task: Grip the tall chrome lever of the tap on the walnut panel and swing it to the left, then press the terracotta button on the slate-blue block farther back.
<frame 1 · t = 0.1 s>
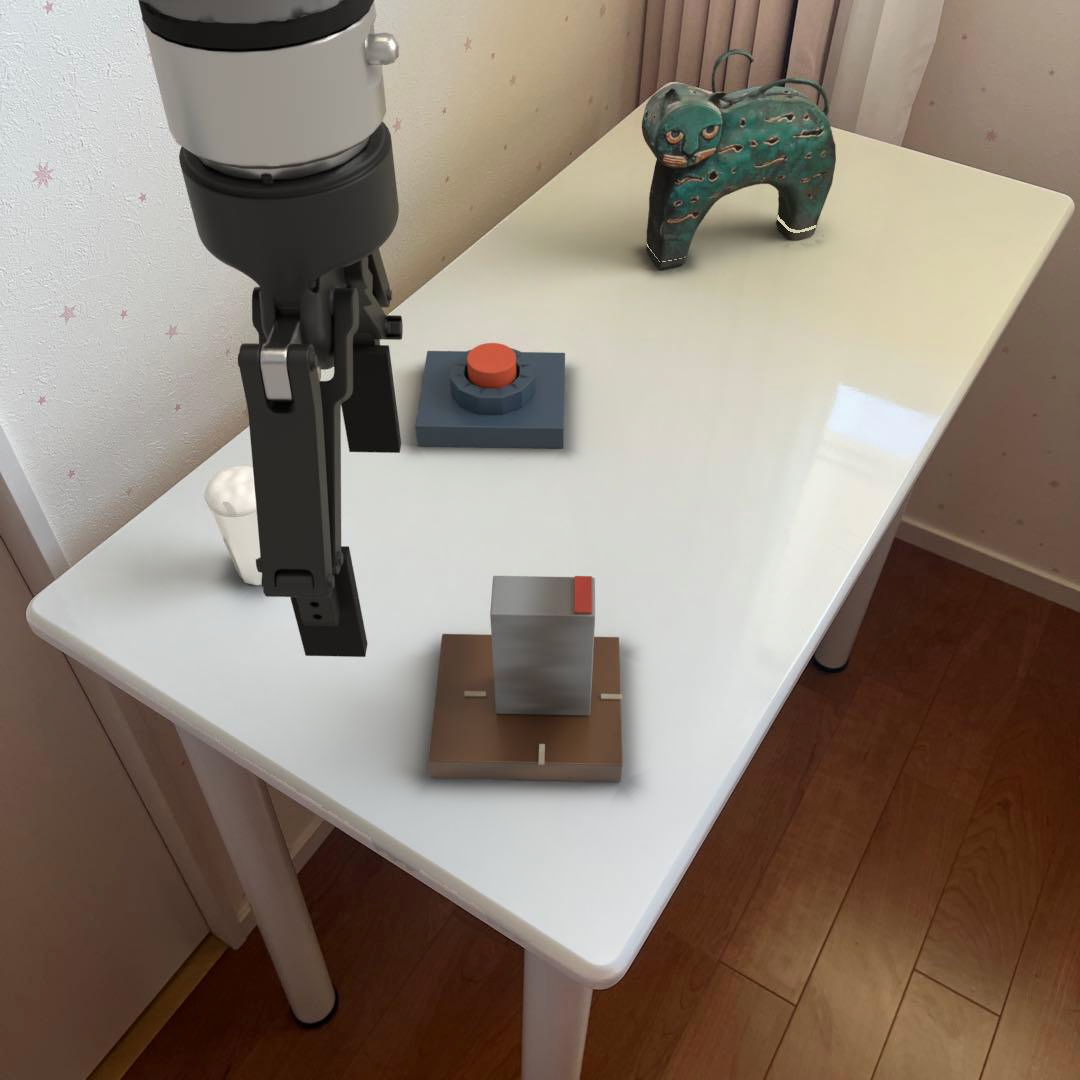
hand: (357, 540, 55), 21 cm above the table, tool pointing down, fingers open, 13 cm apart
ceramic cat: (725, 246, 111), on the table
button block: (493, 408, 94), on the table
button: (491, 366, 91), point 4 cm above the table, slide at 0.1 cm
milkshake: (260, 575, 81), on the table
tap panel: (528, 713, 73), on the table
tap lever: (543, 647, 67), point 7 cm above the table, hinge at 0.0°
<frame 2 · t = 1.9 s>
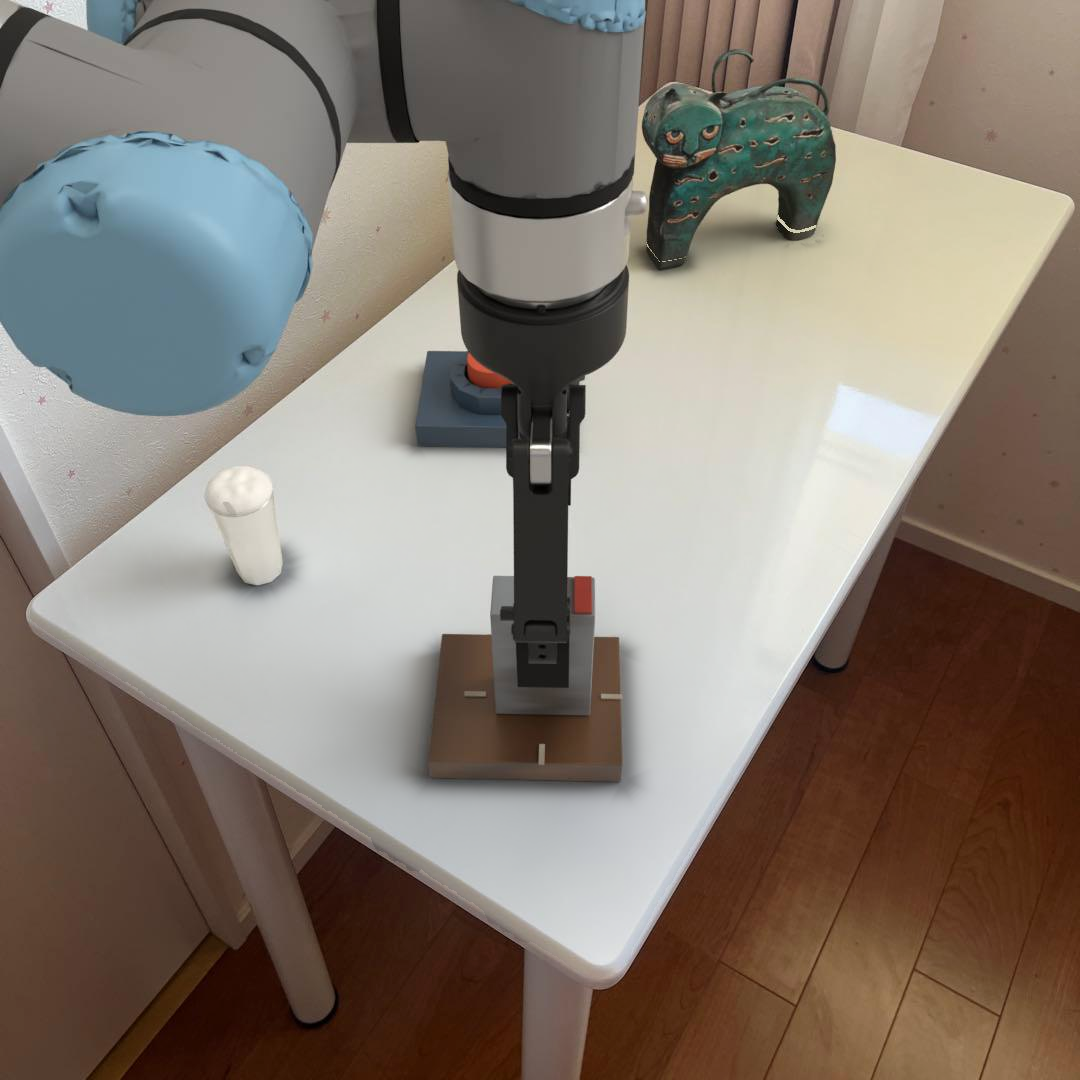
hand: (546, 585, 63), 13 cm above the table, tool pointing down, fingers open, 13 cm apart
nothing on the table moved.
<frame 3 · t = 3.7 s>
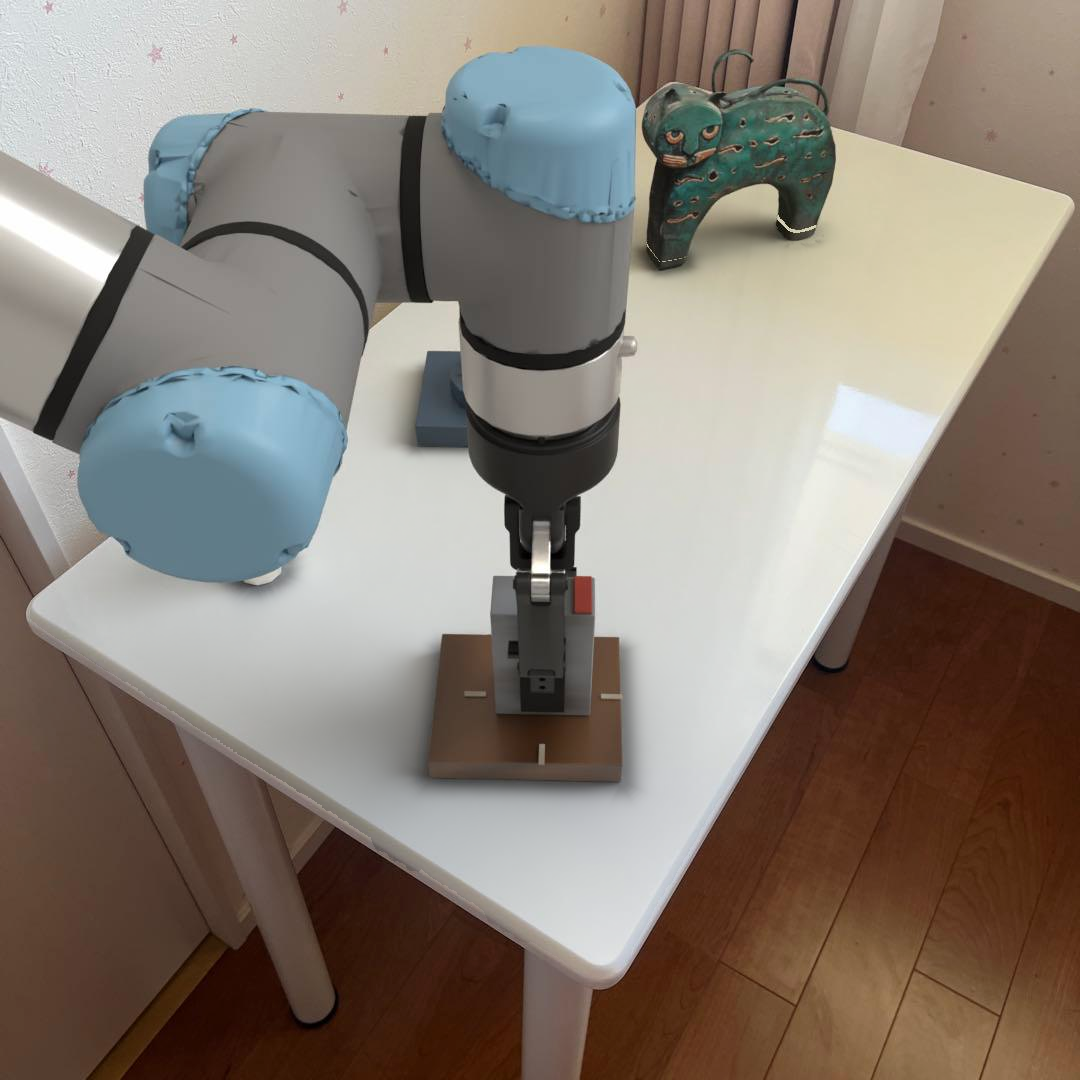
hand: (543, 682, 70), 4 cm above the table, tool pointing down, fingers closed on tap lever, 3 cm apart
tap lever: (543, 647, 67), point 7 cm above the table, hinge at -0.1°, touching gripper
everything else where it was.
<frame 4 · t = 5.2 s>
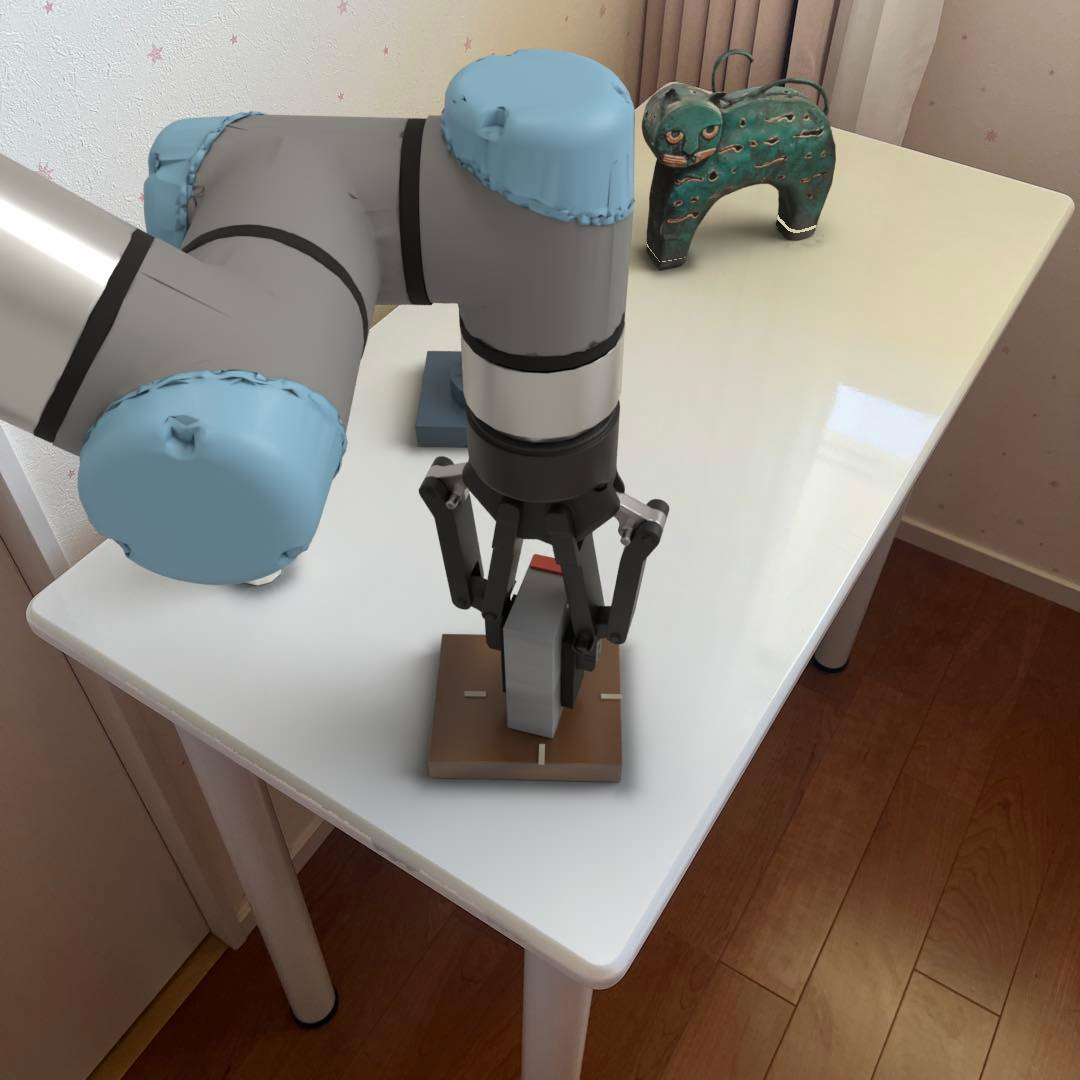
hand: (543, 683, 70), 3 cm above the table, tool pointing down, fingers open, 3 cm apart
tap lever: (543, 647, 67), point 7 cm above the table, hinge at 74.9°
everything else where it was.
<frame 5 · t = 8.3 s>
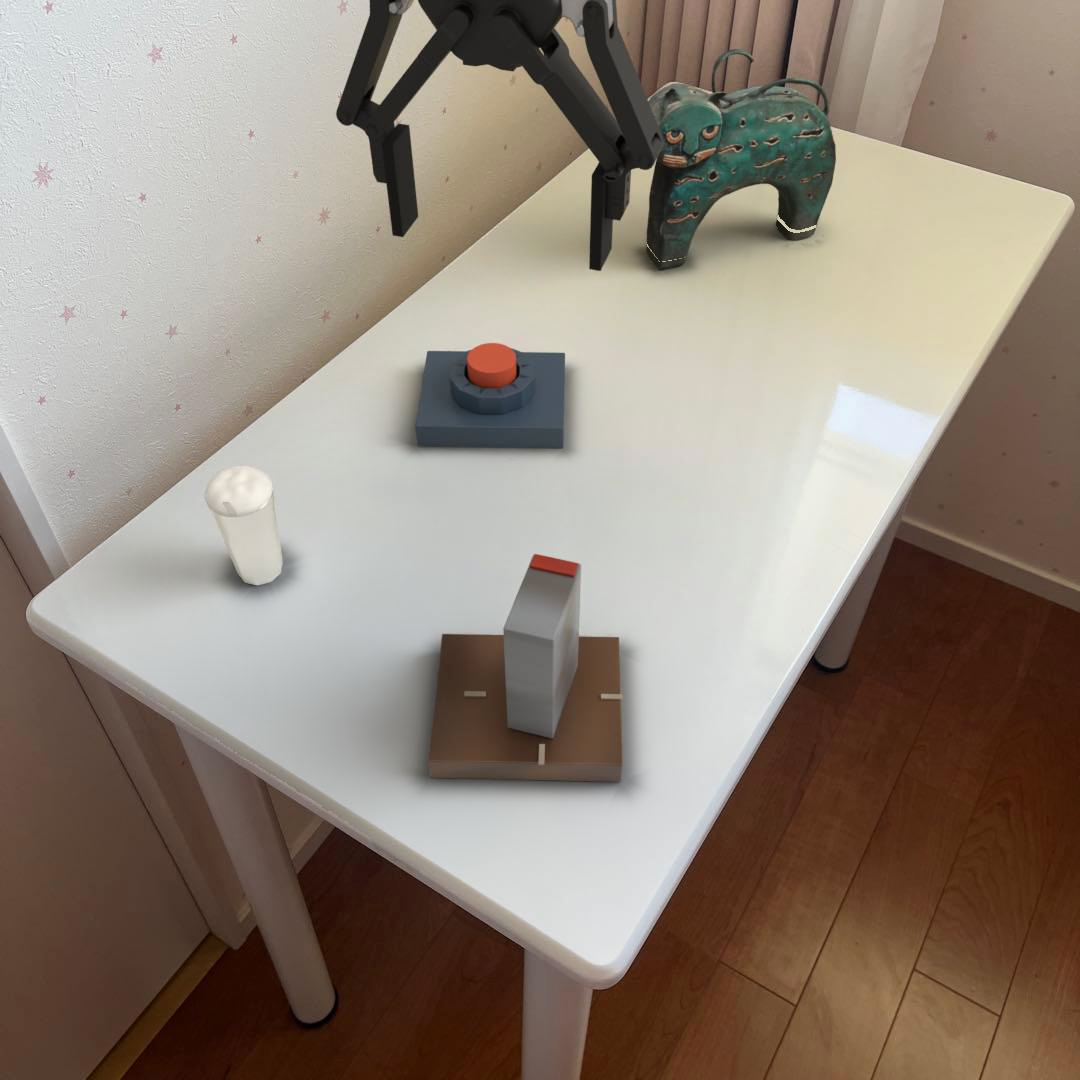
hand: (501, 242, 73), 21 cm above the table, tool pointing down, fingers open, 13 cm apart
nothing on the table moved.
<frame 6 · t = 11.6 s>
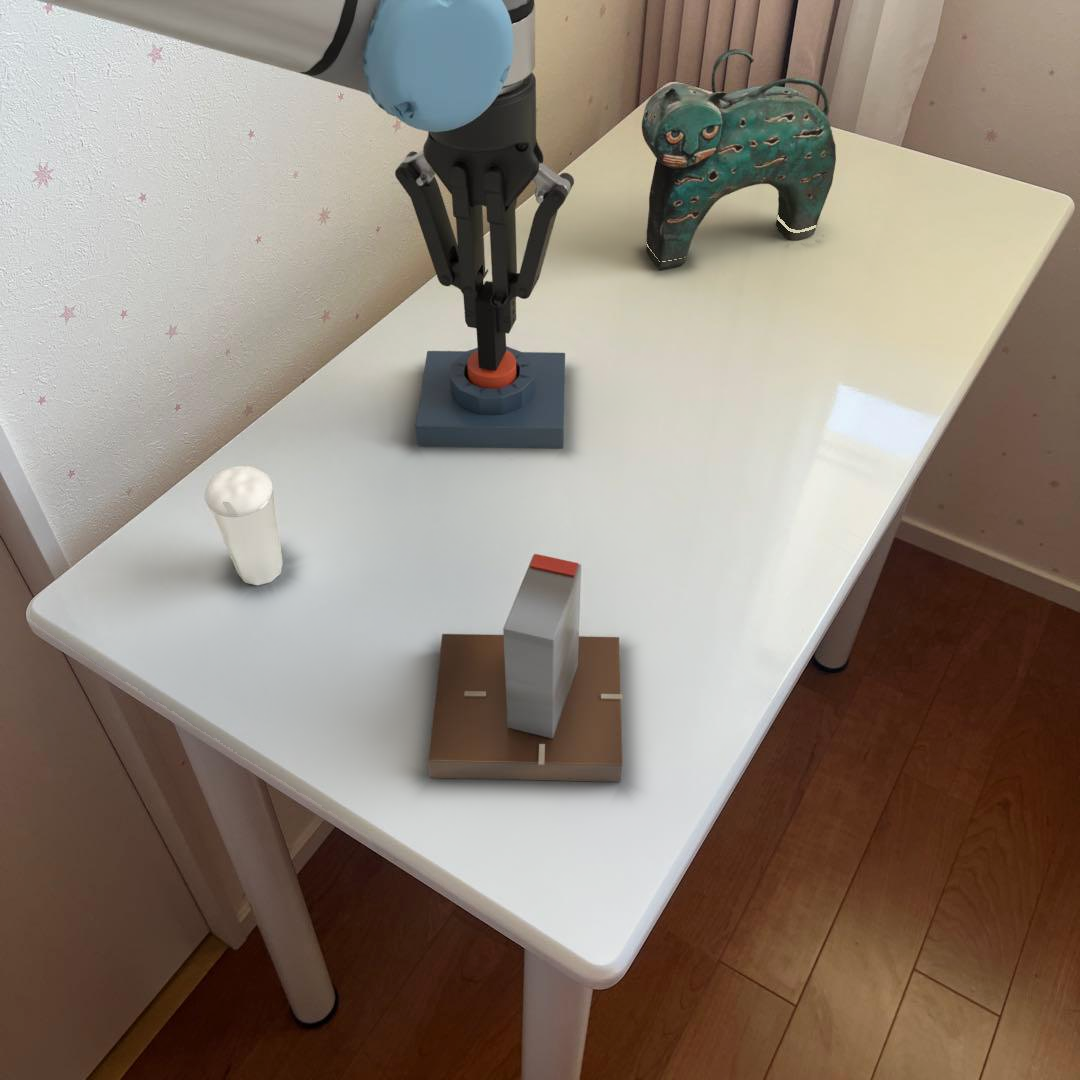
hand: (492, 358, 90), 5 cm above the table, tool pointing down, fingers closed
button: (492, 370, 91), point 4 cm above the table, slide at -0.3 cm, touching gripper
everything else where it was.
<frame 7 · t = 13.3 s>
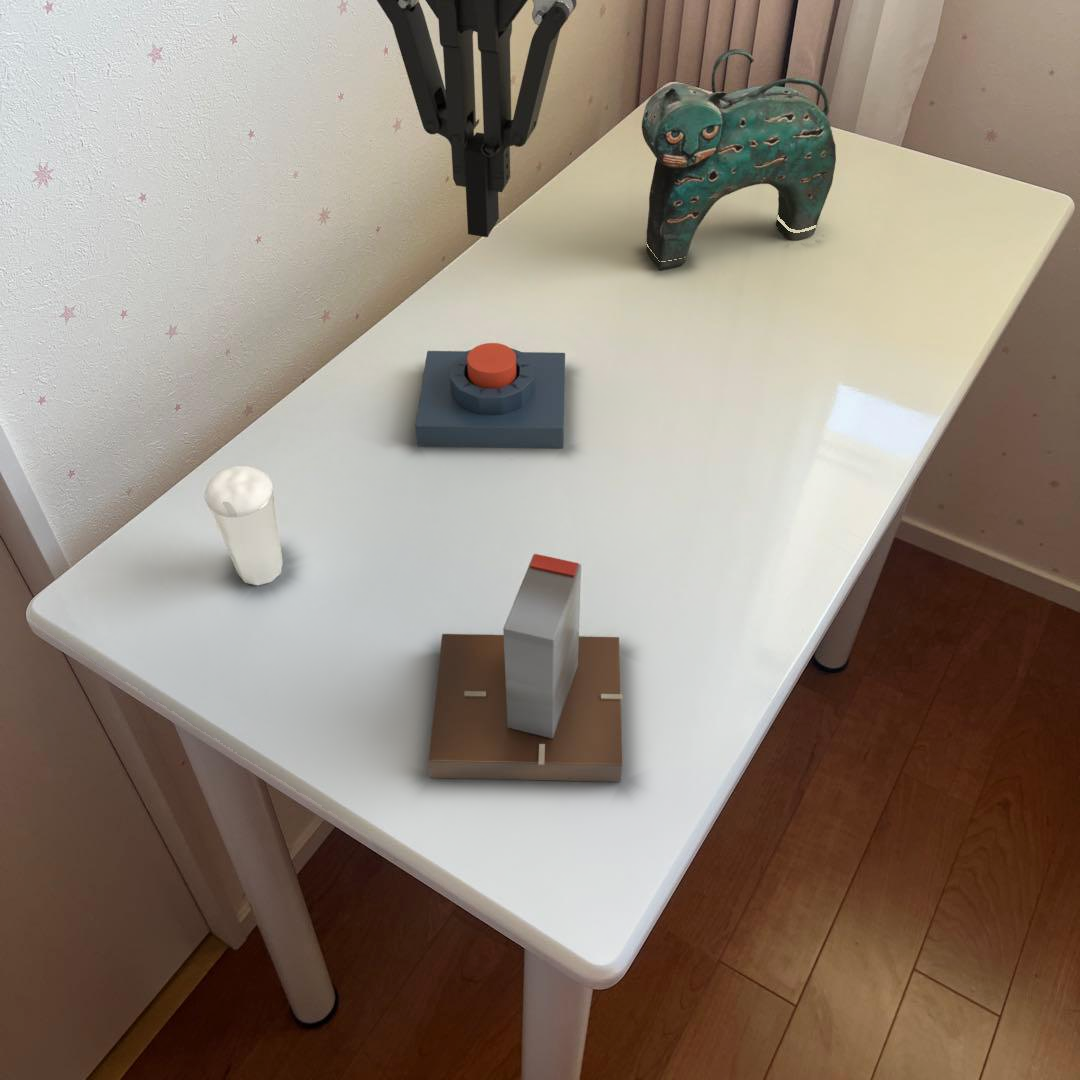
hand: (483, 226, 81), 17 cm above the table, tool pointing down, fingers closed
button: (491, 366, 91), point 4 cm above the table, slide at 0.1 cm
everything else where it was.
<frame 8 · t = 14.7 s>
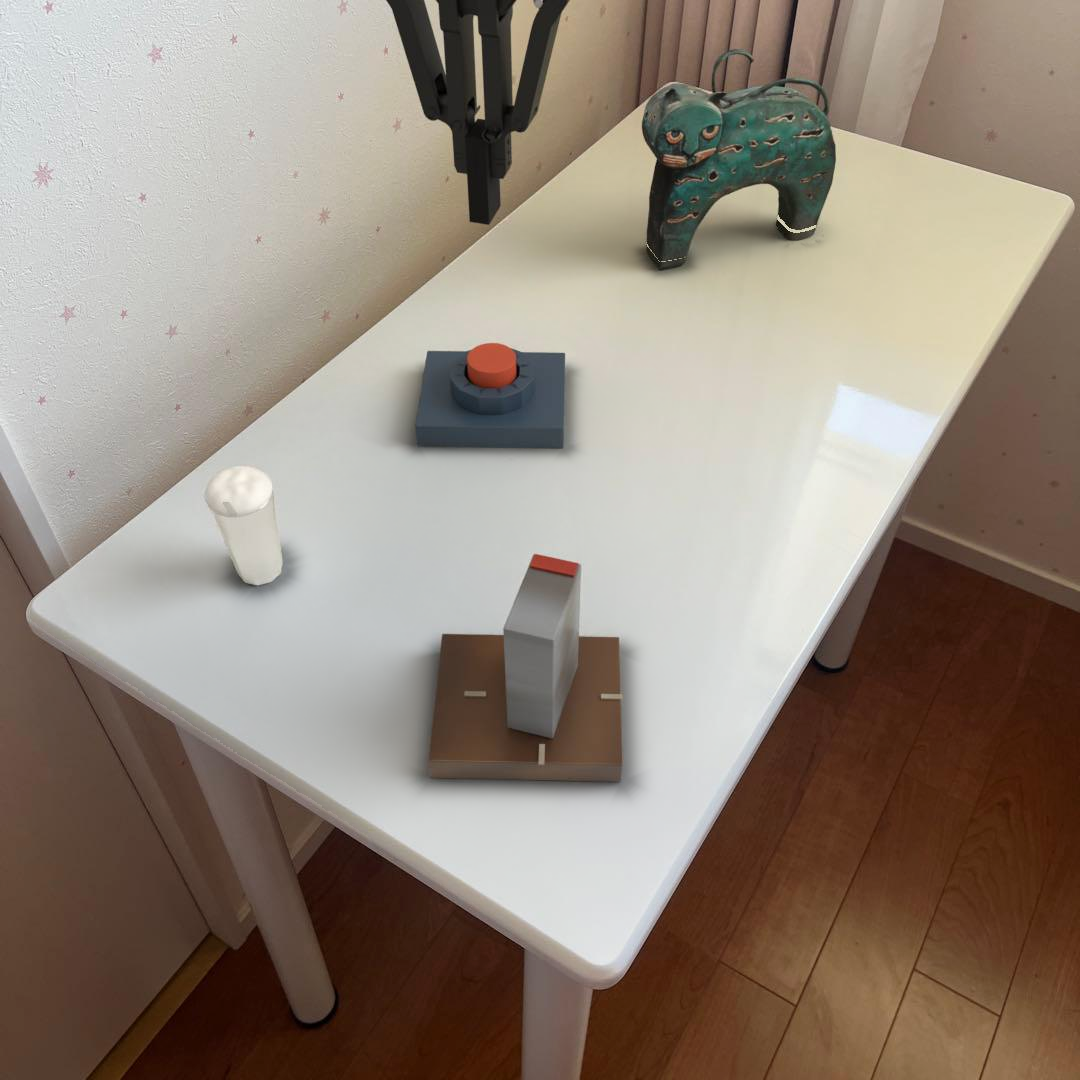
hand: (485, 213, 81), 18 cm above the table, tool pointing down, fingers closed
nothing on the table moved.
at the end: tap lever at +75° (first picture: +0°); button pushed in 1.0 cm at the most during the clip, back to where it started at the end; button slide at 0.1 cm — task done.
